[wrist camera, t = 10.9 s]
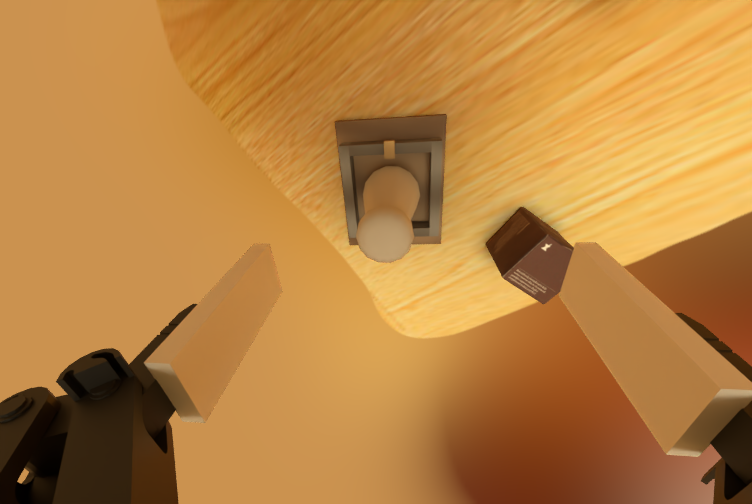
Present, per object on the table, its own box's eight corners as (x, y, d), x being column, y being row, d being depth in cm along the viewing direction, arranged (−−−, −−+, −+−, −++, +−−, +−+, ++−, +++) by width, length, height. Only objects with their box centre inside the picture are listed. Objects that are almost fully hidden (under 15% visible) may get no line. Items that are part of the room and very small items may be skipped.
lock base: (336, 120, 31) (328, 125, 28) (445, 114, 30) (449, 117, 26) (351, 241, 38) (346, 255, 34) (439, 239, 36) (443, 254, 33)
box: (483, 243, 36) (500, 277, 30) (521, 204, 33) (548, 233, 27) (520, 268, 37) (543, 306, 31) (560, 233, 35) (594, 266, 28)
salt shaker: (410, 217, 34) (411, 284, 23) (361, 205, 34) (338, 266, 23) (425, 167, 31) (434, 216, 20) (372, 154, 31) (351, 195, 20)
